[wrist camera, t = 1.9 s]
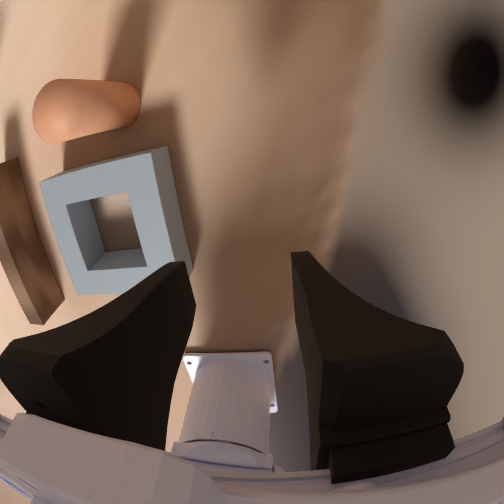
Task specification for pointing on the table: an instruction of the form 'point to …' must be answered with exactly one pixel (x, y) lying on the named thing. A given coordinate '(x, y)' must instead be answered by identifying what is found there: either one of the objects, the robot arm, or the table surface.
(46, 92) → the dowel
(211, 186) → the table surface
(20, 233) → the backstop wall
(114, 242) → the table surface
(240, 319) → the table surface
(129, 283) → the block
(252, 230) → the table surface
